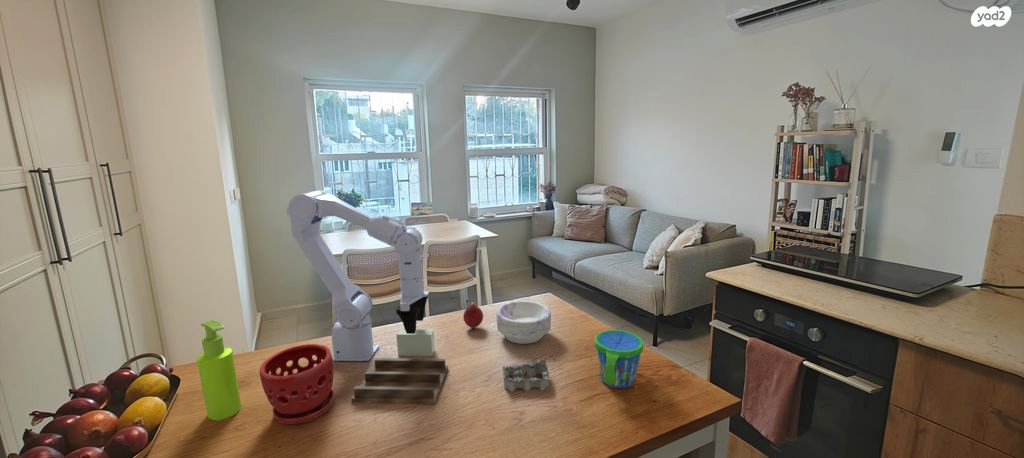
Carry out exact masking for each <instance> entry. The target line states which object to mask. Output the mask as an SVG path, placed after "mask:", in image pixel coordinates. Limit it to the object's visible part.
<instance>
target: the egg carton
mask: <svg viewBox="0 0 1024 458" xmlns="http://www.w3.org/2000/svg"><path fill="white" fill-rule="evenodd" d="M547 365H548V364H547V361H546V359H545V358H540V359H534V360H532V362H525V363H521V364H519V363H518V364H513V365H509V366H508V365H507V366H506V365H502V377H503V388H504V389H506V390H509V392H514V391H515V390H516V389H519V388H520V389H523V390H524V391H530V390H531V389H532V388H538V389H539V390H540V391H541V390H546V389H545V388H547V387H549V386H550V380H551V378H550V374H549V369H548V366H547ZM537 374H540V375H542V378H538V377H534V376H536V375H537ZM510 375H511V376H513V377H510ZM524 375H527V376H529V377H530V378H529V379H526V378H524Z"/></svg>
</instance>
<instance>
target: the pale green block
mask: <svg viewBox="0 0 1024 458" xmlns="http://www.w3.org/2000/svg"><path fill="white" fill-rule="evenodd" d="M396 346H397V347H396V348H397V356H398V357H399V356H401V357H403V356H408V357H409V356H410V357H411V356H413V357H417V356H418V357H432V356H434V353H435V351H436V347H435V346H436V344H435V331H434V329H416V331H415V333H414V334H407V333H406V331H405V328H404V329H399V330H398V332H397V333H396Z"/></svg>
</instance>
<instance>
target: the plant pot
mask: <svg viewBox="0 0 1024 458" xmlns="http://www.w3.org/2000/svg"><path fill="white" fill-rule="evenodd" d="M313 356H315V357H316V359H314V358H313ZM300 359H306V360H307V362H308V364H307V365H305V366H302V365H300V363H299V360H300ZM288 362H291V365H289V366H288V365H287V363H288ZM278 369H280V372H279V373H277V371H278ZM294 370H297V371H296V372H295V373H294ZM286 372H287V374H286V375H285V373H286ZM259 376H260V381H261V382H260V383H261V385H262V388H263V392H264V394H265V396H266V397H267V400H268V402H269V404H270V405H271V406H272V407H273V409H272V414H273V417H274V419H275V420H277V421H278V422H280V423H283V424H287V425H298V424H303V423H306V422H309V421H312V420H313V421H314V420H315V419H317V418H318V417H319V416H321V415H323V414H324V413H326V412H327V411H328V410H329V409H330V408H331V406H332V404H333V403H334V400H335V392H334V390H333V389H332V387H333V383H334V361H333V355H332V351H331V349H330V348H328V346H325V345H323V344H318V343H317V344H316V343H312V344H311V343H309V344H301V345H300V344H299V345H295V346H292V347H288V348H286V349H284V350H280V351H279V352H277V353H274V354H273V355H271V356H270V357H267V359H265V360H264V361H263V362H262V364H261V366H260V367H259Z"/></svg>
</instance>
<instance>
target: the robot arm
mask: <svg viewBox="0 0 1024 458" xmlns="http://www.w3.org/2000/svg"><path fill="white" fill-rule="evenodd" d="M285 212H286V214H287V215H288V216H289V220H290V229H291V234H292V237H293V239H294V241H295V242H296V243H297V245H298V246H299V248H300V250H301V251H302V252H303V254H304V255H305V256H306V258H307V260H308V261H309V262H310V264H311V265H312V267H313V268H314V271H316V273H317V274H318V276H319V277H320V279H321V280H322V282H323V283H324V285H325V287H326V288H327V289H328V291H329V292H330V294H331V296H332V303H331V304H332V308H333V310H334V312H335V315H336V316H335V317H336V320H337V321H336V322H335V323H334V325H333V326H332V328H331V329H332V330H331V343H332V344H331V345H332V353H333V355H332V356H333V357H332V359H333V362H335V361H337V362H339V361H340V362H369V361H370V360H371V358H372V357H373V355H374V354H375V353H376V352H377V350H378V349H379V347H380V344H374V339H373V330H372V329H373V327H372V317H371V316H370V311H371V310H372V308H373V299H372V298H371V296H370V295H369V294H367V293H366V292H364V290H362V288H361V286H359V285H358V284H355V283H353V282H352V281H351V279H350V278H349V276H348V275H347V273H346V272H345V270H344V269H343V268H342V266H341V264H340V263H339V261H338V260H337V259H336V257H335V255H334V253H332V250H331V249H330V247H329V246H328V245H327V243H326V242H325V240H324V239H323V237H322V236H321V233H319V228H320V226H321V222H322V220H323V218H328V217H337V218H339V219H341V220H343V221H346V222H349V223H350V224H354V225H355V226H358V227H360V228H362V229H365V230H366V233H367V235H368V236H369V237H371V238H373V239H376V240H377V241H380V242H382V243H384V244H386V245H388V246H390V247H394V250H395V251H396V253H397V254H398V255H397V256H398V271H399V285H400V304H399V305H398V306H397V307H396V308H395V312H396V314H397V315H398V317H399V318H400V320H401V323H402V325H403V327H404V329H405V331H406V333H407V334H414V333H415V331H416V330H417V322H423V320H424V317H425V310H426V304H427V302H428V300H429V299H428V298H429V296H430V292H429V291H426V290H425V284H424V274H423V273H424V272H423V259H422V249H421V246H422V243H423V235H422V233H421V232H420V231H419V229H416V227H412V226H411V227H410V226H409V227H408V226H407V225H406V224H400V223H397V222H396V221H393V220H391V219H390V216H389V215H386V214H384V215H383V216H382V215H380V214H379V215H378V214H377V215H374V216H372V215H370V214H368V213H366V212H365V211H362V210H360V209H358V208H356V207H355V206H353V205H351V204H349V203H347V202H345V201H344V200H342V199H340V198H339V197H337V196H335V195H334V194H330V193H327V192H325V191H323V190H321V189H314V190H311V191H308V192H305V193H298V194H295V195H294V196H293V197H291V199H290V200H289V203H288V206H287V209H286V211H285Z"/></svg>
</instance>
